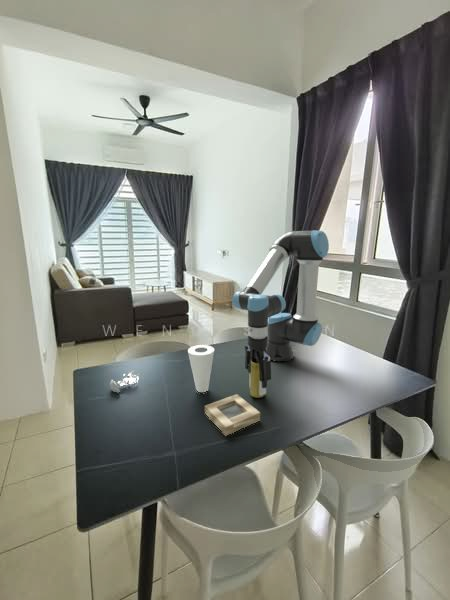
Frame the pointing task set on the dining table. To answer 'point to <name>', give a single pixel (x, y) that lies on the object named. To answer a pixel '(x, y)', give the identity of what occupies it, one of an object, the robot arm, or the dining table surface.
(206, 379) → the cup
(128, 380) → the figurine
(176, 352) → the dining table surface
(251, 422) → the square wooden frame
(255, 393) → the vase
